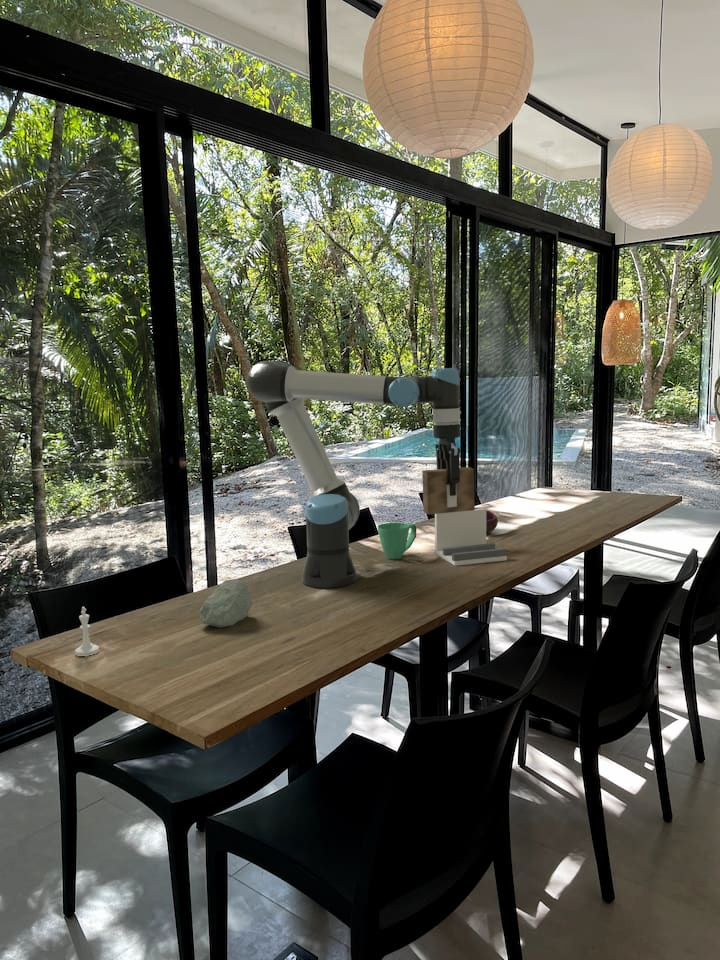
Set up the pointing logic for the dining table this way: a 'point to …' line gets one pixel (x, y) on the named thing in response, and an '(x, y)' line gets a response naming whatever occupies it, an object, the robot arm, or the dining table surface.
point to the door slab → (438, 492)
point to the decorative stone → (226, 604)
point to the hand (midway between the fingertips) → (448, 505)
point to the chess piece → (86, 638)
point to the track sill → (465, 538)
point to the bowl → (490, 521)
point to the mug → (396, 538)
